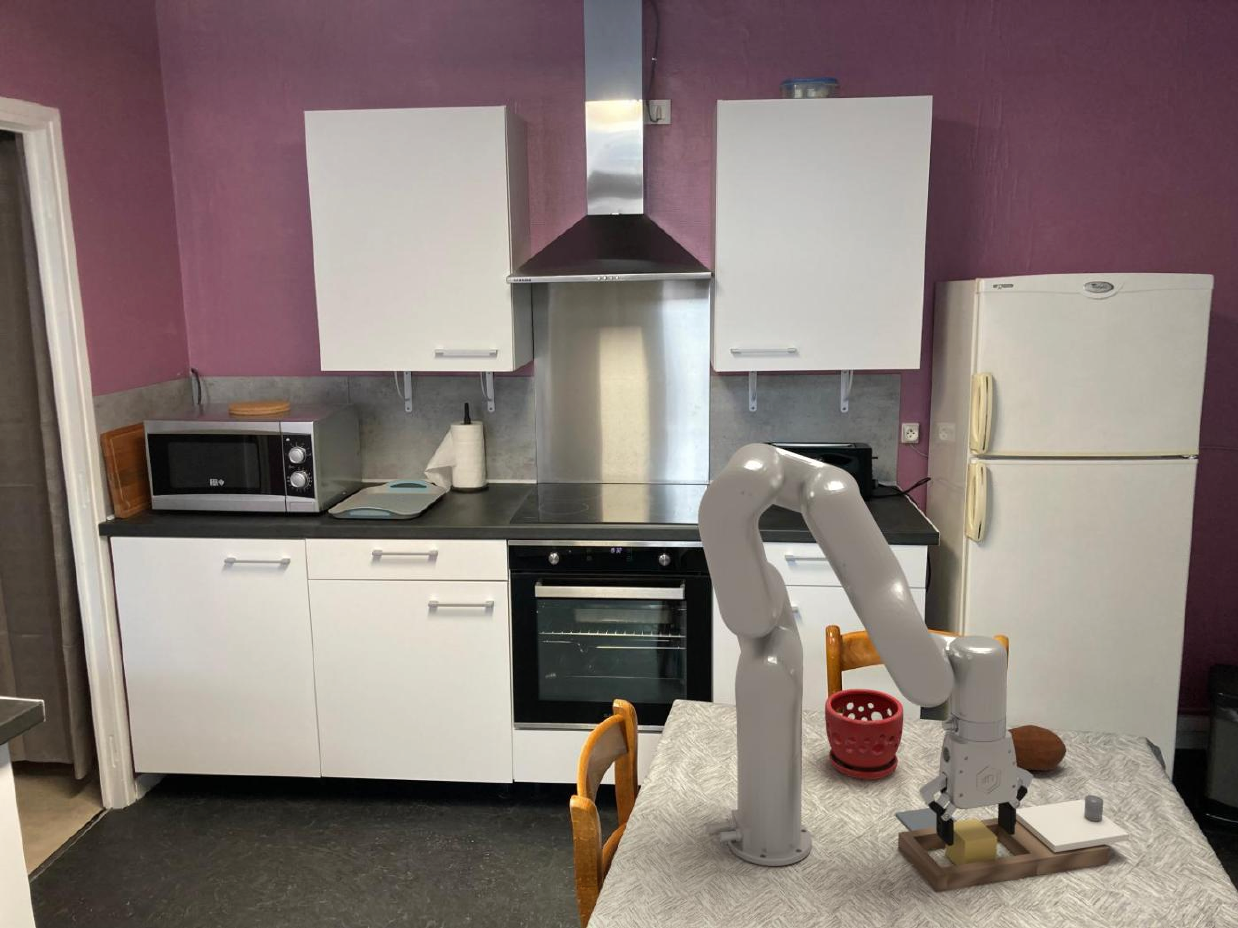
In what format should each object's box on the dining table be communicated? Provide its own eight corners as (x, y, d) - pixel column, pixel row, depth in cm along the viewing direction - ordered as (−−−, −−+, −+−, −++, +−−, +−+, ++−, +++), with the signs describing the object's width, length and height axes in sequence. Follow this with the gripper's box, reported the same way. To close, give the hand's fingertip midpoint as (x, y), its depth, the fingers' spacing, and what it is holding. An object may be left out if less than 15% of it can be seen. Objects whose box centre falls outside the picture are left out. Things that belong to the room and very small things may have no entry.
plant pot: (812, 754, 174) (813, 691, 172) (880, 746, 176) (882, 684, 174) (842, 790, 161) (844, 723, 159) (916, 781, 164) (918, 714, 162)
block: (964, 873, 138) (965, 841, 137) (945, 854, 143) (946, 823, 142) (995, 868, 139) (997, 836, 138) (976, 849, 144) (977, 818, 143)
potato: (991, 754, 172) (993, 715, 171) (1054, 755, 171) (1056, 715, 170) (1006, 778, 164) (1008, 736, 163) (1072, 779, 163) (1075, 737, 162)
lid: (1054, 852, 138) (1056, 826, 137) (1012, 815, 147) (1013, 791, 146) (1128, 840, 140) (1130, 814, 139) (1082, 805, 150) (1083, 781, 149)
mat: (920, 842, 146) (920, 839, 146) (895, 814, 153) (895, 812, 153) (969, 835, 147) (969, 832, 147) (941, 808, 155) (941, 805, 155)
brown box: (936, 891, 134) (937, 875, 133) (898, 847, 144) (898, 832, 144) (1108, 863, 139) (1109, 847, 139) (1058, 823, 150) (1059, 808, 149)
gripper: (935, 744, 132) (934, 859, 135) (1048, 726, 135) (1045, 839, 138) (908, 721, 139) (908, 831, 142) (1016, 705, 142) (1014, 812, 145)
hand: (976, 835), depth 140 cm, fingers open, 9 cm apart
